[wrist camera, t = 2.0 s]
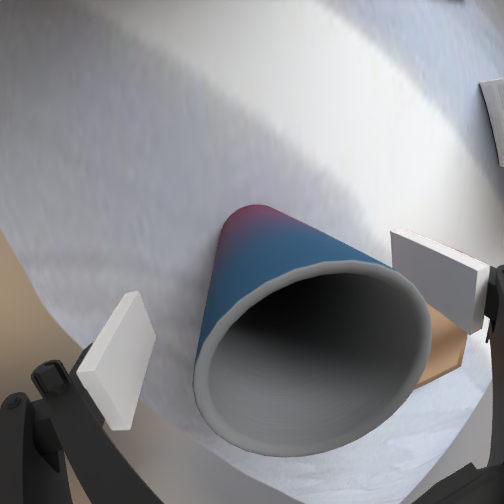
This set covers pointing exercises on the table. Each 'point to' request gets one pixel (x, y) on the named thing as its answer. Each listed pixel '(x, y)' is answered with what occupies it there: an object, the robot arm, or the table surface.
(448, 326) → the pedestal
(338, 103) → the table surface
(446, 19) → the table surface
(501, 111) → the supplement box
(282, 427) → the cup
